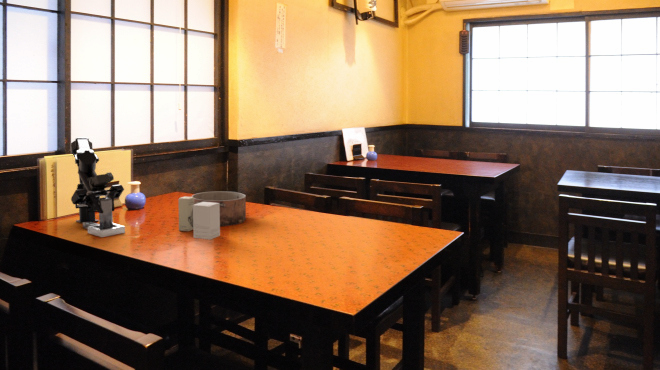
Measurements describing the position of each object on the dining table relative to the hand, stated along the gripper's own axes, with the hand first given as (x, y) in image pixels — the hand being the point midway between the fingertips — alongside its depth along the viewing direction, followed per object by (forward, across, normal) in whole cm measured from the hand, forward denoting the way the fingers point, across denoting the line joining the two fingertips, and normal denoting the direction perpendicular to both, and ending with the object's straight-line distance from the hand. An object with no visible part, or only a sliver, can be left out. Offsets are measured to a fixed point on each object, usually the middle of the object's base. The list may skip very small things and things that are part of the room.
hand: (107, 211), depth 200 cm
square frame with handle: (+1, 0, +10) cm, 10 cm away
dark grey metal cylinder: (+4, 0, +6) cm, 7 cm away
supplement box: (+28, +21, -16) cm, 38 cm away
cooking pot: (+16, +43, -3) cm, 46 cm away
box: (+18, +23, -6) cm, 30 cm away
